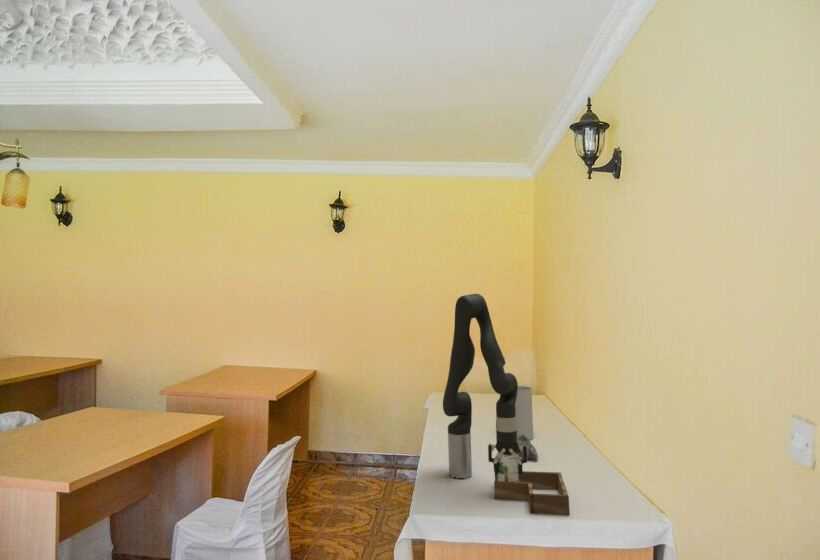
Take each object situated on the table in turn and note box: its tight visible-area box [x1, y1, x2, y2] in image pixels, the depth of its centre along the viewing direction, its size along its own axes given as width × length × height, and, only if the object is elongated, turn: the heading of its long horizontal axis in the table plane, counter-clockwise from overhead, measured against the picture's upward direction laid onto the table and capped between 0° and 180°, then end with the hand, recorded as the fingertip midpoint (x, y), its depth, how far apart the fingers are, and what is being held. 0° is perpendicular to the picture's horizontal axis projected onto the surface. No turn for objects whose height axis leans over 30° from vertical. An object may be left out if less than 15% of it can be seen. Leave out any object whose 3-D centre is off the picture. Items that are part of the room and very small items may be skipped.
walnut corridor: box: [493, 470, 570, 516], centre depth 176 cm, size 22×24×6 cm
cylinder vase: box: [515, 385, 534, 441], centre depth 253 cm, size 12×12×25 cm
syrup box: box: [496, 452, 519, 482], centre depth 182 cm, size 6×6×14 cm
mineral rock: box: [516, 434, 539, 460], centre depth 222 cm, size 13×11×10 cm
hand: (508, 473), depth 182 cm, fingers closed on syrup box, 7 cm apart
